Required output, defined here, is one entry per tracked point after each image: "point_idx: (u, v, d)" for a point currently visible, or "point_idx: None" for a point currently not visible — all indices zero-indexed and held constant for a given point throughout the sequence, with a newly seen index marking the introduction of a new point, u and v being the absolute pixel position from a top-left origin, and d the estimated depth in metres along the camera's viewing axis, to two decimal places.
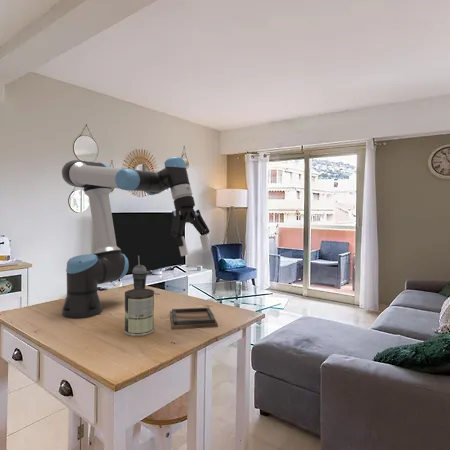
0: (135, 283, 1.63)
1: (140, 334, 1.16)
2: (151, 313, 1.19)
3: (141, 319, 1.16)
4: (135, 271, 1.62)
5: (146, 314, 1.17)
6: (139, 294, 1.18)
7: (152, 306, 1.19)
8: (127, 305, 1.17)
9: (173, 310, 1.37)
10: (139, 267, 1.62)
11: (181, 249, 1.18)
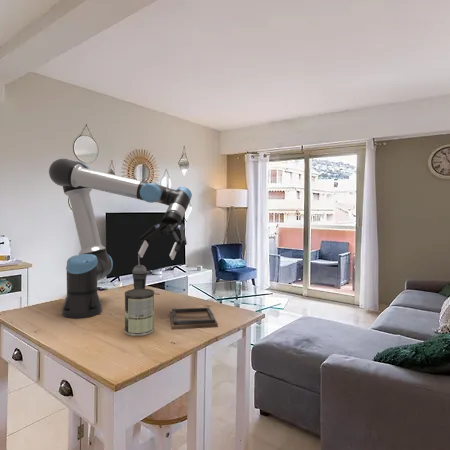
0: (135, 283, 1.63)
1: (140, 334, 1.16)
2: (151, 313, 1.19)
3: (141, 319, 1.16)
4: (135, 271, 1.62)
5: (146, 314, 1.17)
6: (139, 294, 1.18)
7: (152, 306, 1.19)
8: (127, 305, 1.17)
9: (173, 310, 1.37)
10: (139, 267, 1.62)
11: (173, 252, 1.28)
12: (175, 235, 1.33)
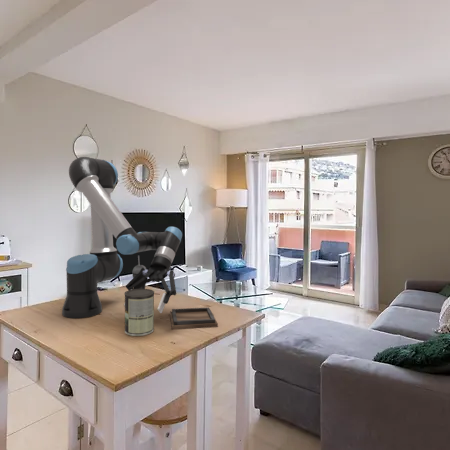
0: None
1: (140, 334, 1.16)
2: (151, 313, 1.19)
3: (141, 319, 1.16)
4: (135, 271, 1.62)
5: (146, 314, 1.17)
6: (139, 294, 1.17)
7: (152, 306, 1.19)
8: (127, 305, 1.16)
9: (173, 310, 1.37)
10: (139, 267, 1.62)
11: (162, 304, 1.19)
12: (164, 284, 1.24)
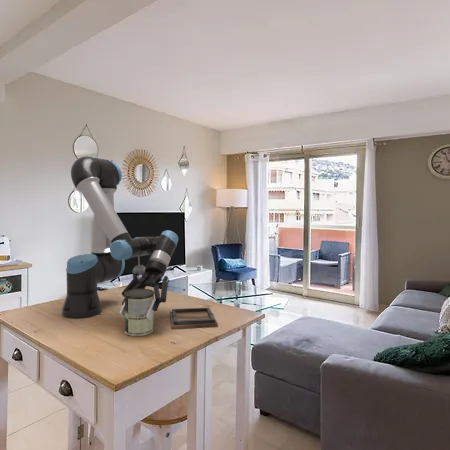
0: None
1: (140, 334, 1.16)
2: None
3: (141, 319, 1.16)
4: (135, 271, 1.62)
5: (146, 314, 1.17)
6: (139, 294, 1.17)
7: None
8: (127, 305, 1.16)
9: (173, 310, 1.37)
10: (139, 267, 1.62)
11: (151, 311, 1.17)
12: (155, 290, 1.22)
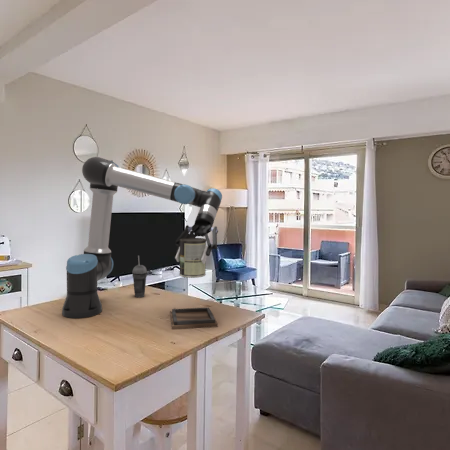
0: (135, 283, 1.63)
1: (195, 276, 1.27)
2: None
3: (196, 262, 1.26)
4: (135, 271, 1.62)
5: (200, 257, 1.27)
6: (194, 240, 1.28)
7: None
8: (183, 250, 1.27)
9: (173, 310, 1.37)
10: (139, 267, 1.62)
11: (204, 256, 1.27)
12: (207, 238, 1.32)
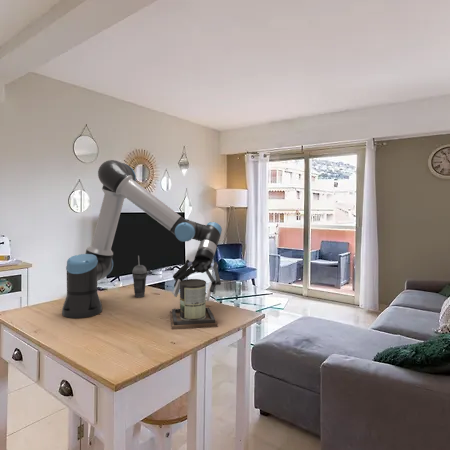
0: (135, 283, 1.63)
1: None
2: (204, 301, 1.31)
3: (196, 306, 1.28)
4: (135, 271, 1.62)
5: (200, 301, 1.28)
6: (193, 283, 1.29)
7: (205, 294, 1.31)
8: (183, 294, 1.28)
9: (173, 310, 1.37)
10: (139, 267, 1.62)
11: (209, 292, 1.29)
12: (209, 274, 1.34)
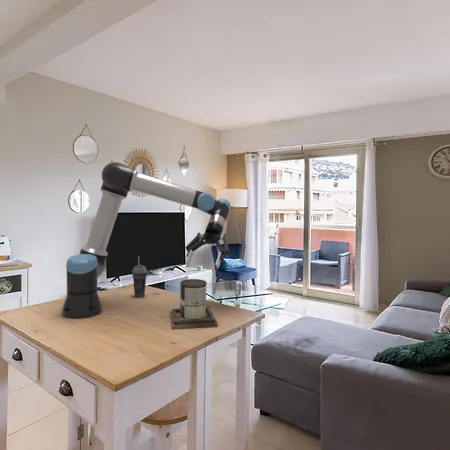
0: (135, 283, 1.63)
1: None
2: (204, 301, 1.30)
3: (196, 306, 1.28)
4: (135, 271, 1.62)
5: (200, 301, 1.28)
6: (194, 284, 1.29)
7: (205, 295, 1.31)
8: (183, 294, 1.28)
9: (173, 310, 1.37)
10: (139, 267, 1.62)
11: (218, 261, 1.40)
12: (219, 245, 1.45)
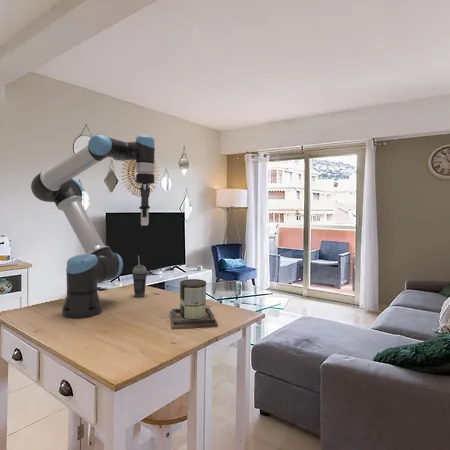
0: (135, 283, 1.63)
1: None
2: (204, 301, 1.30)
3: (196, 306, 1.28)
4: (135, 271, 1.62)
5: (200, 301, 1.28)
6: (194, 284, 1.29)
7: (205, 295, 1.31)
8: (183, 294, 1.28)
9: (173, 310, 1.37)
10: (139, 267, 1.62)
11: (142, 219, 1.35)
12: None
